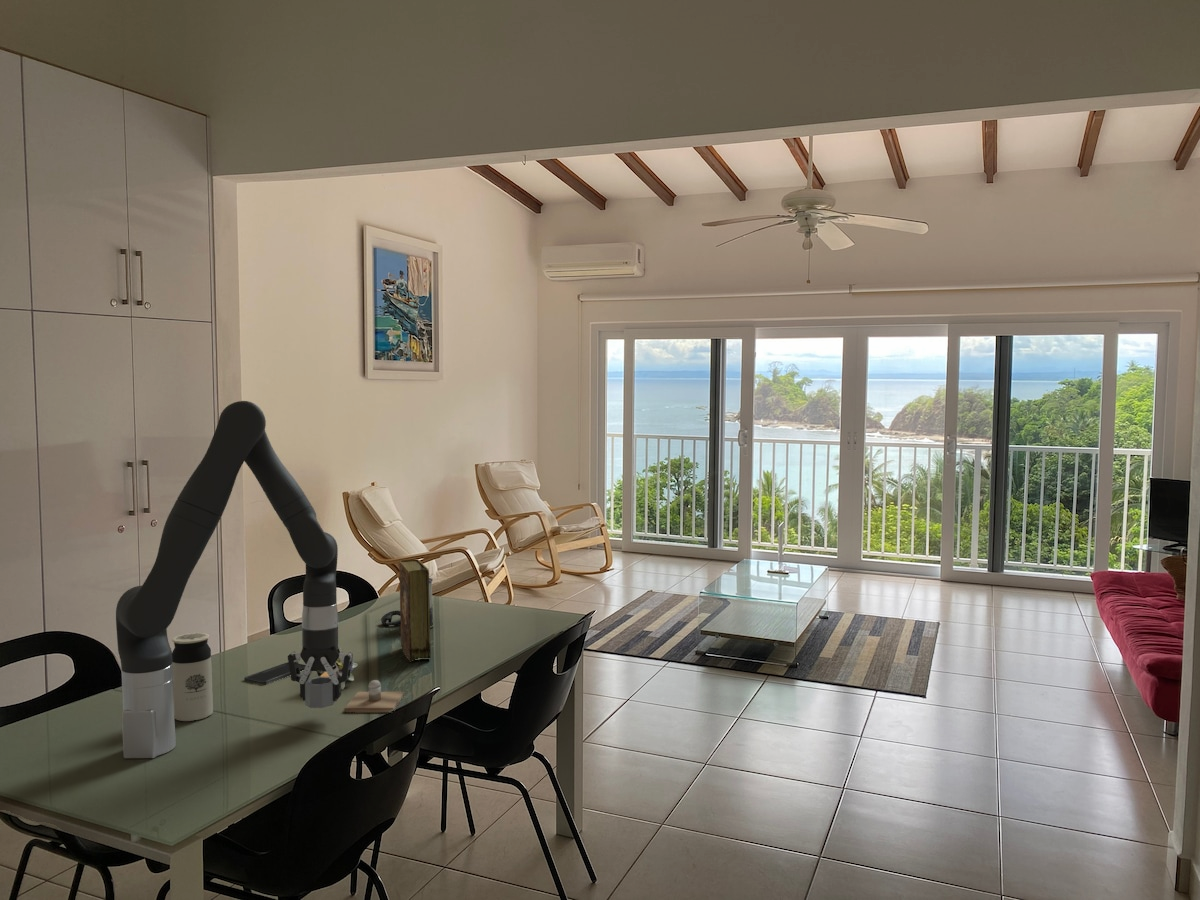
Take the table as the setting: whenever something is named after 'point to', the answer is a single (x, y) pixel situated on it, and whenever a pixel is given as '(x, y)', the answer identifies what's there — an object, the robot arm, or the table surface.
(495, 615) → the table surface
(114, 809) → the table surface
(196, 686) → the travel mug
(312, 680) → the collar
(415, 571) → the book
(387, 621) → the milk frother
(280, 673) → the phone
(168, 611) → the robot arm
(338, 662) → the passion flower
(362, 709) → the base
